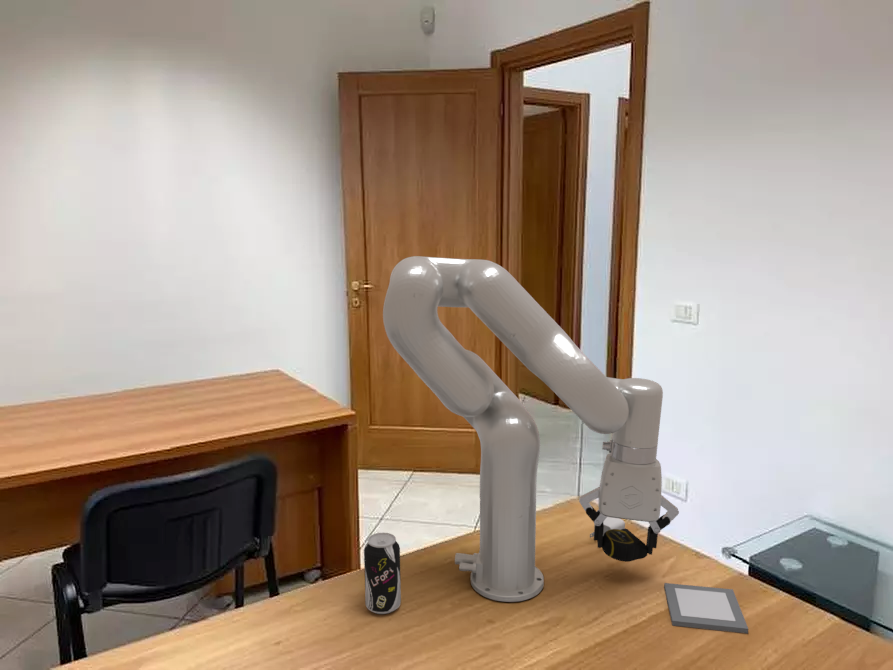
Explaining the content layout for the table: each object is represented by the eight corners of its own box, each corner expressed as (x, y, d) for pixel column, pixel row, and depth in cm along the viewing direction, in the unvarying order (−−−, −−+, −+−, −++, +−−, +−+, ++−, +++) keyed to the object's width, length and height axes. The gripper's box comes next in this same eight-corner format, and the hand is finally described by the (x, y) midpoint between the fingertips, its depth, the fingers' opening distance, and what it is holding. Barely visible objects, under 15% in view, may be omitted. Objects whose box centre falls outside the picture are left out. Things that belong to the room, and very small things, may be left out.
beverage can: (365, 618, 107) (363, 548, 105) (366, 598, 113) (364, 531, 111) (401, 616, 108) (400, 546, 106) (400, 596, 113) (399, 529, 111)
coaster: (672, 625, 105) (672, 620, 105) (664, 587, 116) (664, 582, 115) (747, 633, 103) (748, 628, 103) (732, 593, 114) (732, 588, 113)
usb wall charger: (624, 539, 132) (625, 520, 132) (602, 551, 128) (603, 531, 127) (607, 532, 135) (608, 513, 135) (585, 543, 131) (586, 524, 130)
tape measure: (648, 564, 116) (650, 543, 116) (612, 567, 114) (615, 547, 114) (627, 545, 123) (629, 525, 122) (593, 548, 121) (595, 528, 120)
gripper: (581, 453, 113) (573, 551, 116) (690, 465, 110) (679, 565, 113) (581, 439, 120) (573, 531, 123) (683, 449, 117) (673, 544, 120)
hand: (624, 547), depth 118 cm, fingers closed on tape measure, 7 cm apart
